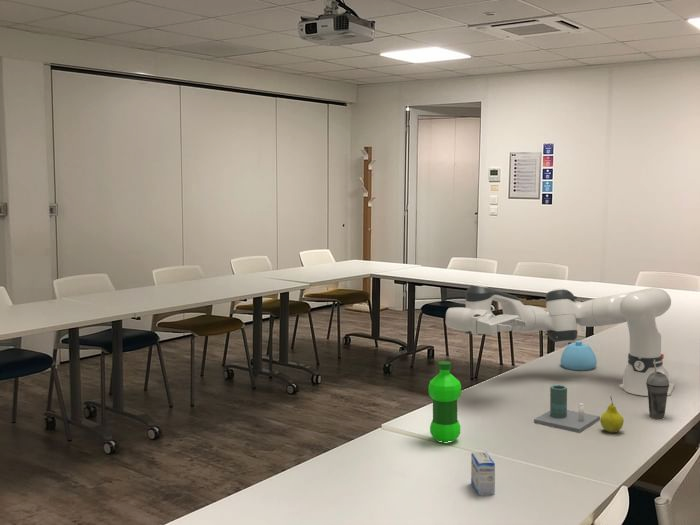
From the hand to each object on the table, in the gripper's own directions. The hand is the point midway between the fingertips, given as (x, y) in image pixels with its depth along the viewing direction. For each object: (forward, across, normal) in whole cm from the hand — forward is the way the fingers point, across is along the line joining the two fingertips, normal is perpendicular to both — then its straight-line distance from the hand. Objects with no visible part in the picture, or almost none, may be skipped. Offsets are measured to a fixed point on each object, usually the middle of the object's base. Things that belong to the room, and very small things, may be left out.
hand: (518, 326), depth 252 cm
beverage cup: (+41, -20, -30) cm, 55 cm away
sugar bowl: (-8, -68, -30) cm, 75 cm away
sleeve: (+16, +2, -29) cm, 33 cm away
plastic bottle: (-3, +42, -30) cm, 52 cm away
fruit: (+35, +3, -30) cm, 46 cm away
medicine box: (+25, +66, -30) cm, 77 cm away
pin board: (+19, +2, -30) cm, 36 cm away
